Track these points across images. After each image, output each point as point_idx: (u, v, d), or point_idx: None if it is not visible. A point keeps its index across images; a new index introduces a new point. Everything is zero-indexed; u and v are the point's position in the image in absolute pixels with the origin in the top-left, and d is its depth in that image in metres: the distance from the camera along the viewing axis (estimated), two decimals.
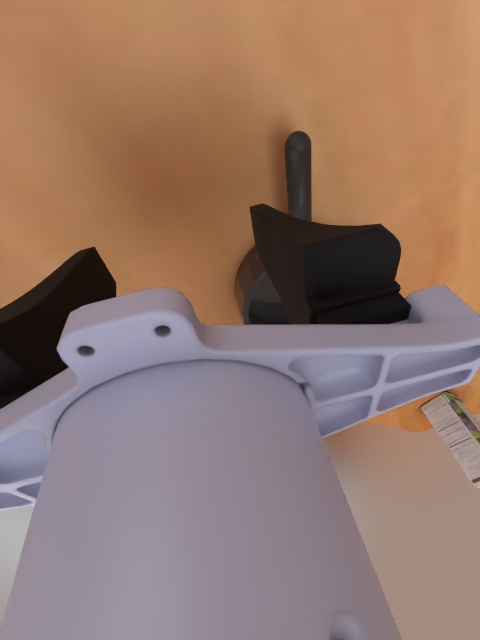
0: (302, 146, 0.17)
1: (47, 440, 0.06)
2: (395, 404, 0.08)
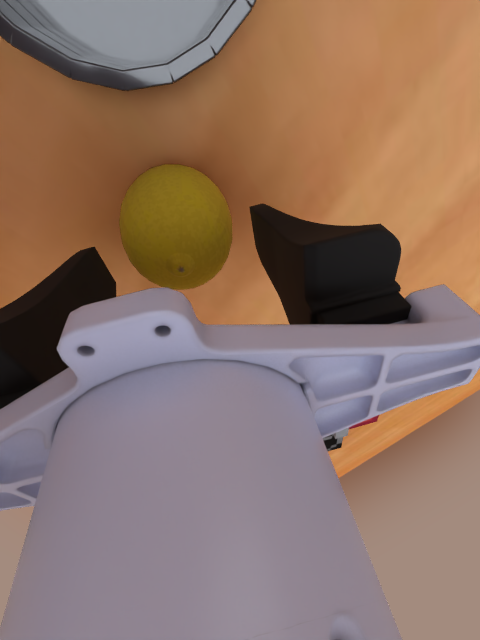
0: None
1: (47, 440, 0.06)
2: (394, 405, 0.08)
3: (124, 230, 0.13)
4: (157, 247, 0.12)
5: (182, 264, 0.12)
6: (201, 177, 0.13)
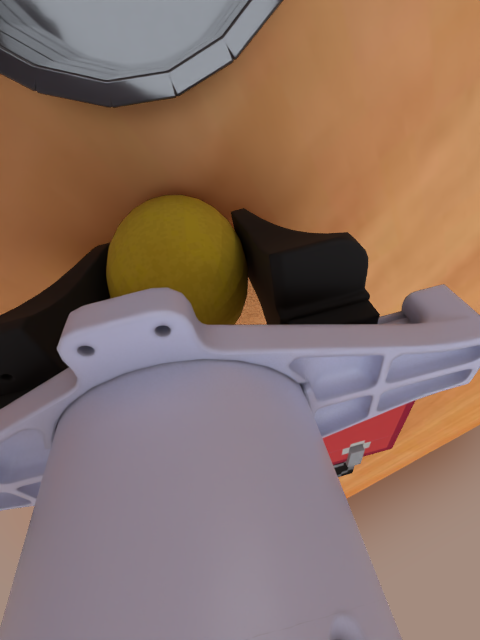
0: None
1: (47, 440, 0.06)
2: (394, 404, 0.08)
3: (111, 285, 0.10)
4: None
5: None
6: (210, 214, 0.11)
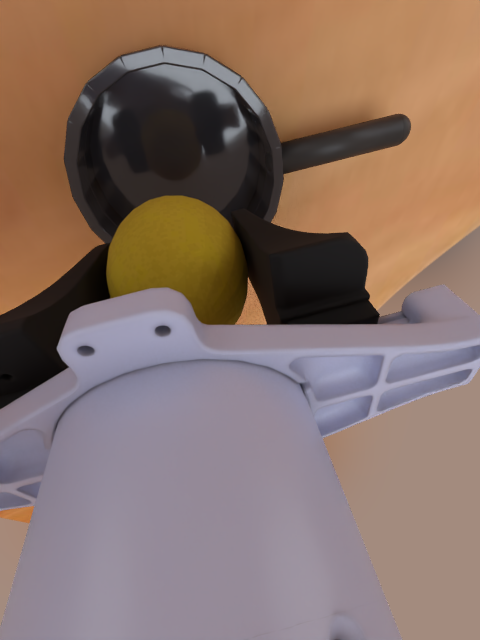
0: (405, 133, 0.17)
1: (47, 440, 0.06)
2: (395, 404, 0.08)
3: (111, 286, 0.10)
4: None
5: None
6: (210, 215, 0.11)
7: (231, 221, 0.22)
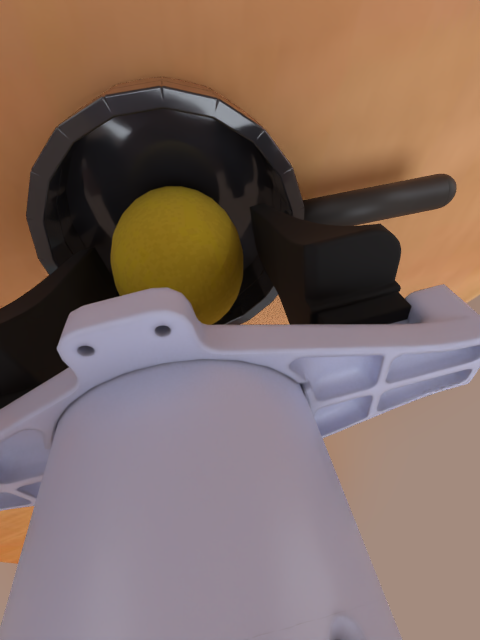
0: (450, 198, 0.14)
1: (47, 440, 0.06)
2: (394, 404, 0.08)
3: (115, 269, 0.11)
4: None
5: None
6: (207, 203, 0.11)
7: None
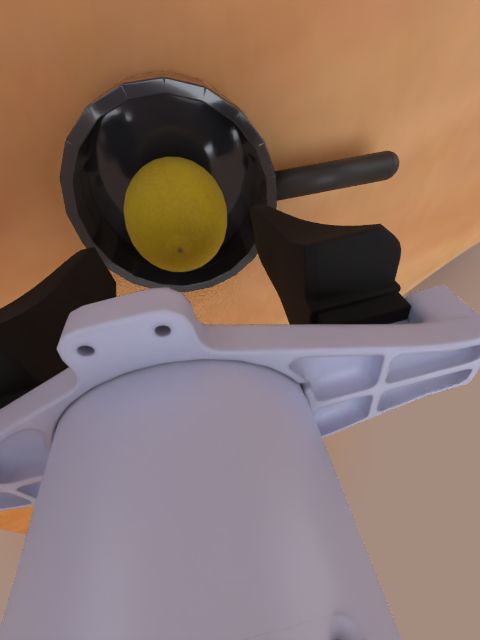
0: (393, 170, 0.17)
1: (47, 440, 0.06)
2: (394, 404, 0.08)
3: (128, 215, 0.14)
4: (158, 230, 0.13)
5: (180, 245, 0.13)
6: (198, 168, 0.15)
7: (224, 239, 0.22)
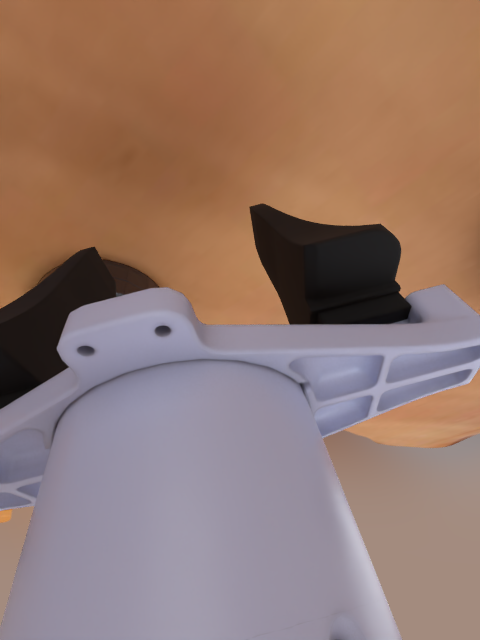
0: None
1: (47, 440, 0.06)
2: (395, 405, 0.08)
3: None
4: None
5: None
6: None
7: None
